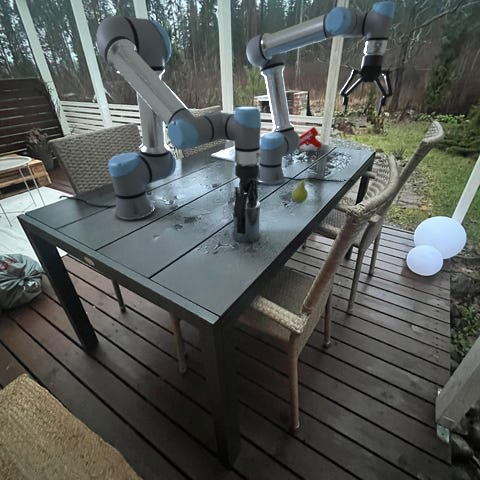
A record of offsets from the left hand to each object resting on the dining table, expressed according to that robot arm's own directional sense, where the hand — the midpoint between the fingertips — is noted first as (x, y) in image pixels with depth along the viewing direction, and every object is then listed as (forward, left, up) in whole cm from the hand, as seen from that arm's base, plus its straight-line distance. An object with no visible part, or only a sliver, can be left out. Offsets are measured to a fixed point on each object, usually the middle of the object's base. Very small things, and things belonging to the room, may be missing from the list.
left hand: (246, 226), depth 96 cm
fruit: (+12, +36, -4) cm, 38 cm away
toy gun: (-3, +130, -4) cm, 130 cm away
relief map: (-39, +95, -4) cm, 103 cm away
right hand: (+29, +60, +30) cm, 73 cm away
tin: (0, 0, -4) cm, 4 cm away
